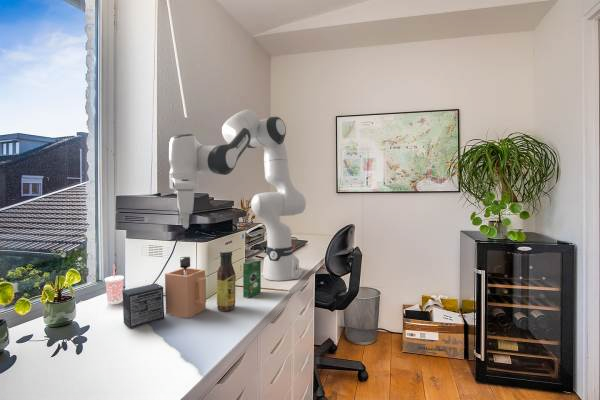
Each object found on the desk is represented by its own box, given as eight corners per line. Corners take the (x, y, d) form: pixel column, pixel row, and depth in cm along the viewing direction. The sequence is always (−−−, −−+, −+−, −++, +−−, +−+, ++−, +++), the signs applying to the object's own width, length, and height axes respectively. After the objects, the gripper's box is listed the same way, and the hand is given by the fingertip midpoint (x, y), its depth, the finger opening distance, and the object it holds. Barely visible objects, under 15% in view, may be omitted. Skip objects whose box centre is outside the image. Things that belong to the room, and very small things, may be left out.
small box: (157, 313, 110) (156, 282, 110) (165, 319, 106) (164, 286, 105) (122, 322, 103) (121, 289, 103) (129, 329, 98) (128, 294, 98)
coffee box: (255, 291, 133) (255, 258, 132) (261, 292, 131) (261, 259, 131) (242, 297, 126) (242, 262, 125) (248, 298, 124) (248, 263, 124)
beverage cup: (101, 304, 119) (99, 265, 118) (115, 298, 124) (113, 261, 124) (115, 306, 117) (113, 266, 116) (128, 300, 123) (127, 262, 122)
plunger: (185, 302, 116) (184, 254, 115) (200, 305, 114) (199, 256, 113) (171, 309, 110) (170, 259, 109) (187, 312, 108) (186, 260, 107)
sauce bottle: (231, 312, 111) (230, 253, 110) (213, 311, 112) (212, 253, 111) (238, 305, 117) (237, 249, 116) (222, 304, 118) (221, 249, 117)
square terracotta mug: (185, 304, 118) (184, 267, 117) (213, 309, 113) (212, 270, 112) (165, 314, 109) (164, 273, 109) (195, 320, 105) (194, 277, 104)
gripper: (172, 182, 118) (173, 221, 119) (174, 184, 99) (175, 230, 100) (191, 182, 120) (192, 220, 121) (196, 184, 101) (197, 229, 102)
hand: (184, 225), depth 110 cm, fingers open, 8 cm apart
